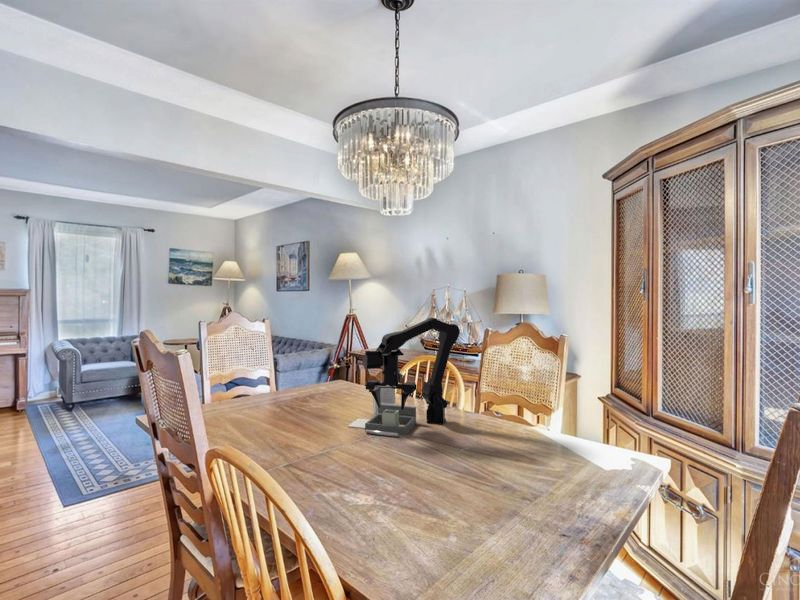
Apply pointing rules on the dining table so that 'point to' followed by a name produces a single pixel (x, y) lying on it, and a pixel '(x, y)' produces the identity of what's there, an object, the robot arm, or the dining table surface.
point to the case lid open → (405, 412)
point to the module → (390, 417)
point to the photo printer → (385, 397)
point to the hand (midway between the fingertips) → (390, 408)
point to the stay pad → (359, 423)
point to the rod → (382, 433)
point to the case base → (389, 428)
